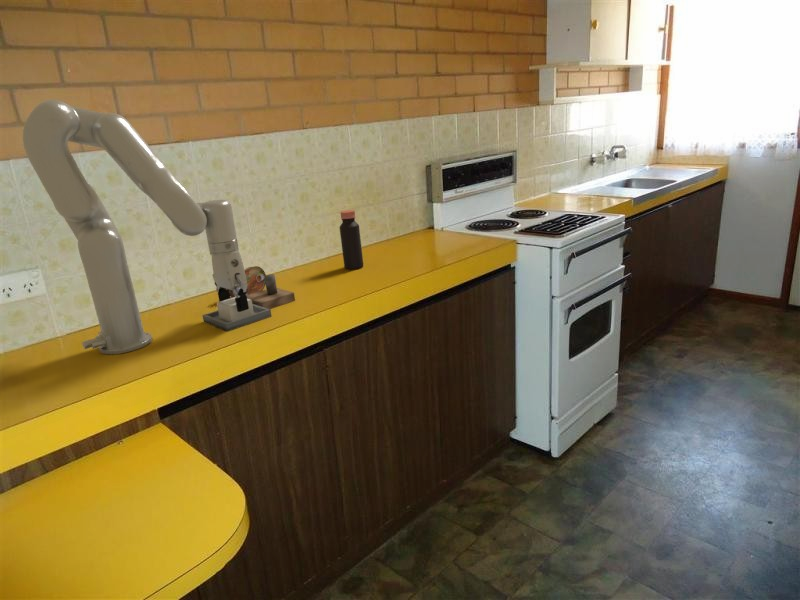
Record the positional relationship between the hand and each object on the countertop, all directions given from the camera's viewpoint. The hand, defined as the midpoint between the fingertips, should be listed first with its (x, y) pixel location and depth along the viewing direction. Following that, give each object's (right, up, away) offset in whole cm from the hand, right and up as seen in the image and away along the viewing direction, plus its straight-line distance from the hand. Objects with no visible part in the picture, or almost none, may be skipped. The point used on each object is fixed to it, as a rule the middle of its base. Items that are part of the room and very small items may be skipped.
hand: (234, 307), depth 158 cm
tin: (-2, +4, +24) cm, 24 cm away
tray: (+1, -3, +1) cm, 4 cm away
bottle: (+30, +13, +45) cm, 55 cm away
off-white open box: (0, -3, +1) cm, 3 cm away
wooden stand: (+7, +1, +13) cm, 15 cm away
